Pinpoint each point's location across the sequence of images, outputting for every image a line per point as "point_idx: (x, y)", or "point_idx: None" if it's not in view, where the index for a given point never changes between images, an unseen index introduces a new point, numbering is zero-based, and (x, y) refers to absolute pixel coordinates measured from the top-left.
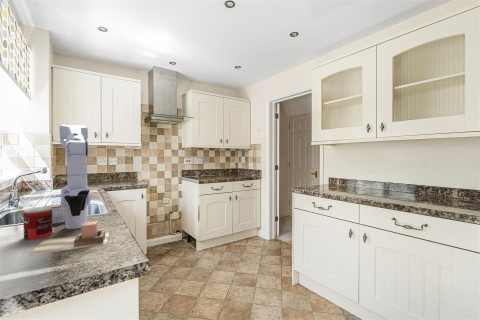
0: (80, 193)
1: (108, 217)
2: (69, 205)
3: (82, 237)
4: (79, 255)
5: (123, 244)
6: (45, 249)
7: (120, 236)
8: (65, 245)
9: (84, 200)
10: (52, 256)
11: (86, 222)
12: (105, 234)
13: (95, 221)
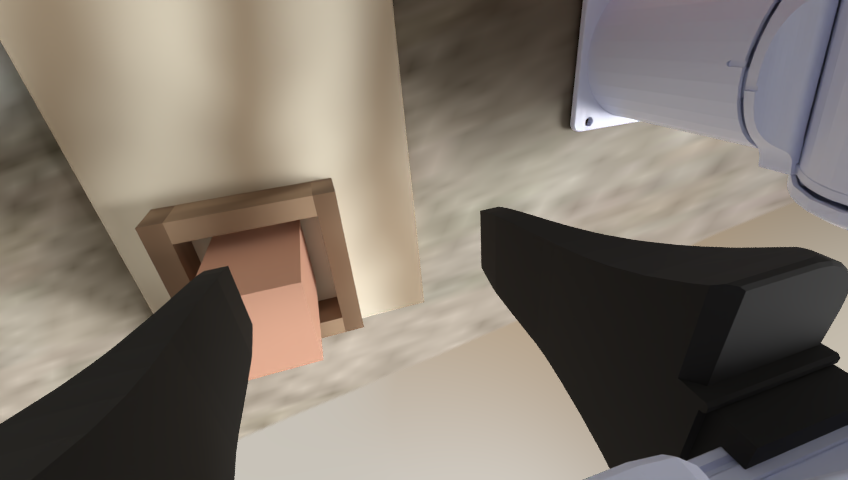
0: (645, 418)
1: (754, 181)
2: (76, 384)
3: (206, 258)
4: (48, 269)
5: None
6: (106, 4)
7: (357, 356)
8: (192, 136)
9: (549, 355)
10: (28, 98)
11: (300, 301)
12: (372, 301)
13: (317, 352)
